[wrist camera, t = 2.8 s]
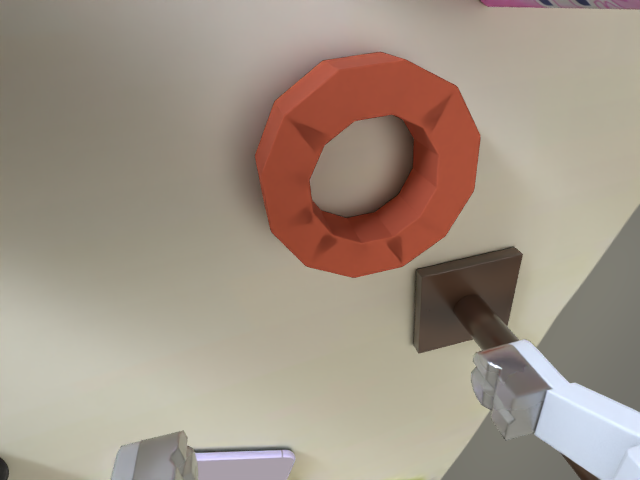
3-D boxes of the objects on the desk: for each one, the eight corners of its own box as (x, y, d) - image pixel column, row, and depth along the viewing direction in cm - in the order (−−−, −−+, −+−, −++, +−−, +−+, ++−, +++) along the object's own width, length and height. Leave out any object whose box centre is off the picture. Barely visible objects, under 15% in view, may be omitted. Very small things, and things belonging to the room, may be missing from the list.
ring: (237, 72, 20) (241, 84, 17) (457, 40, 21) (492, 46, 19) (276, 264, 26) (283, 294, 23) (442, 228, 28) (467, 252, 25)
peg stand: (416, 269, 29) (569, 474, 16) (514, 246, 30) (728, 422, 18) (413, 345, 33) (533, 552, 21) (499, 322, 34) (662, 507, 22)
